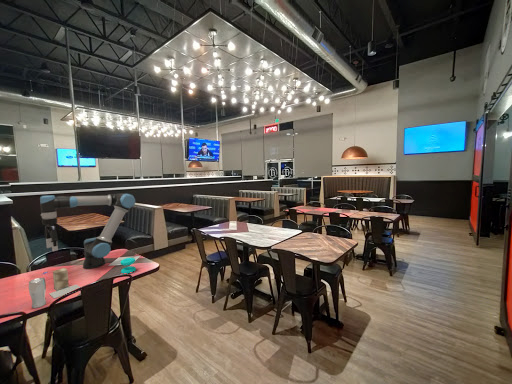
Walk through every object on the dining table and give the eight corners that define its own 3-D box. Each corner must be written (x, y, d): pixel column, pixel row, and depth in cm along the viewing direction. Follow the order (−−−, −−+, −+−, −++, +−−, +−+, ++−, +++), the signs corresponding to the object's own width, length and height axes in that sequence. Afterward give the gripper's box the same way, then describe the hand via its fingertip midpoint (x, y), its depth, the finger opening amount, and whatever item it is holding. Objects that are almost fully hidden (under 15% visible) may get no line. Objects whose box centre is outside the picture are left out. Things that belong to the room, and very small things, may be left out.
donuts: (133, 261, 167) (118, 262, 164) (134, 273, 168) (119, 275, 165) (136, 256, 177) (122, 258, 174) (137, 268, 177) (122, 270, 174)
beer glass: (27, 307, 126) (25, 281, 125) (43, 300, 132) (40, 276, 131) (34, 310, 123) (32, 283, 122) (50, 303, 130) (48, 278, 129)
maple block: (65, 284, 152) (64, 267, 151) (68, 287, 149) (67, 269, 148) (54, 288, 147) (52, 271, 146) (57, 291, 144) (55, 273, 143)
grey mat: (76, 284, 152) (76, 284, 152) (82, 288, 146) (82, 288, 146) (49, 294, 140) (49, 293, 140) (54, 298, 135) (54, 298, 135)
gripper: (37, 217, 155) (39, 247, 157) (47, 221, 142) (50, 254, 143) (51, 215, 161) (53, 244, 163) (62, 218, 148) (65, 250, 150)
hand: (52, 249), depth 153 cm, fingers open, 12 cm apart
